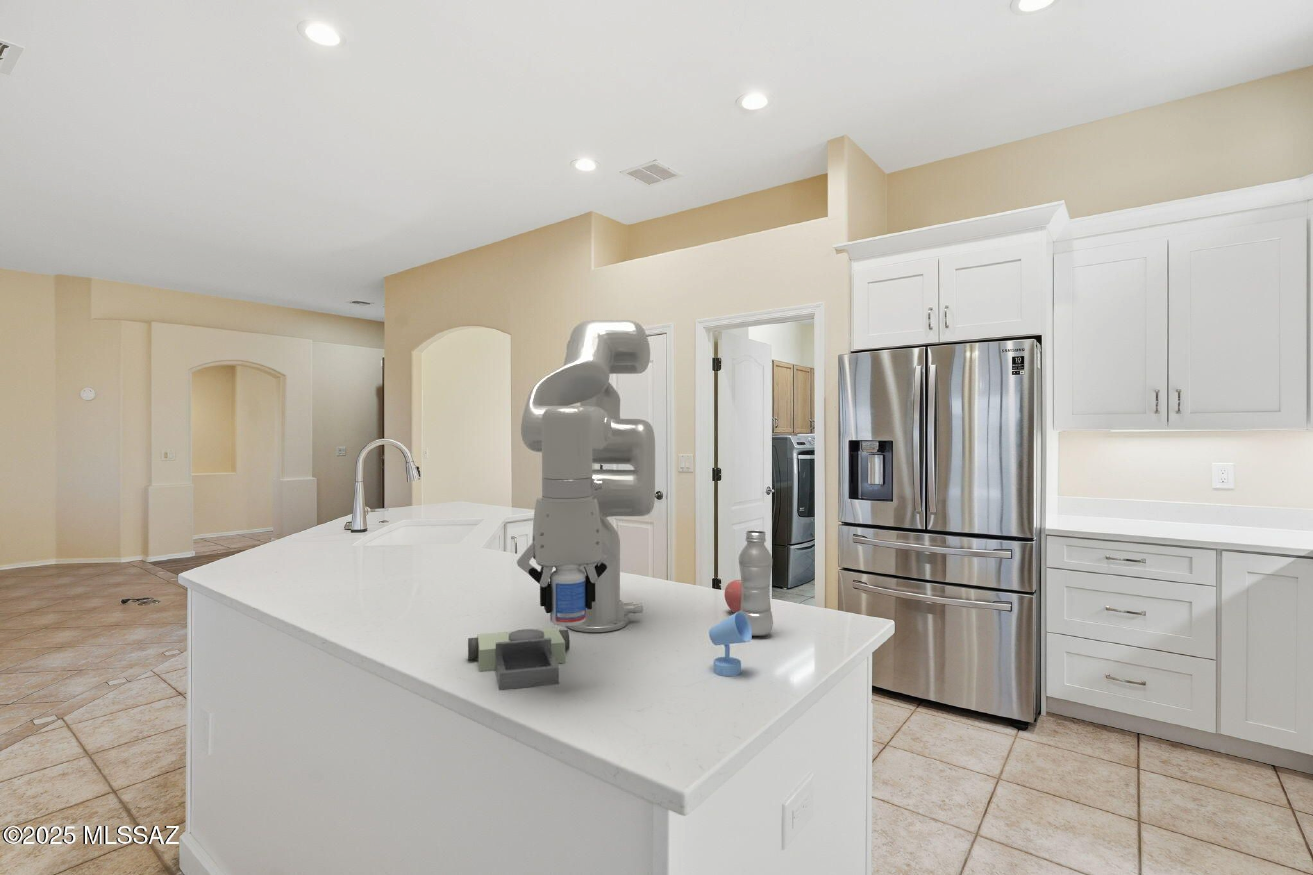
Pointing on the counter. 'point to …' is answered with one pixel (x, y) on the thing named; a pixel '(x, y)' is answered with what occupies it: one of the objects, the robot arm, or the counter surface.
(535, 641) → the gray square tray
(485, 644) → the green block with knobs
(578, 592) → the pill bottle
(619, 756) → the counter surface
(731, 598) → the apple
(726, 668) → the spotlight
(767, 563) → the plastic bottle
